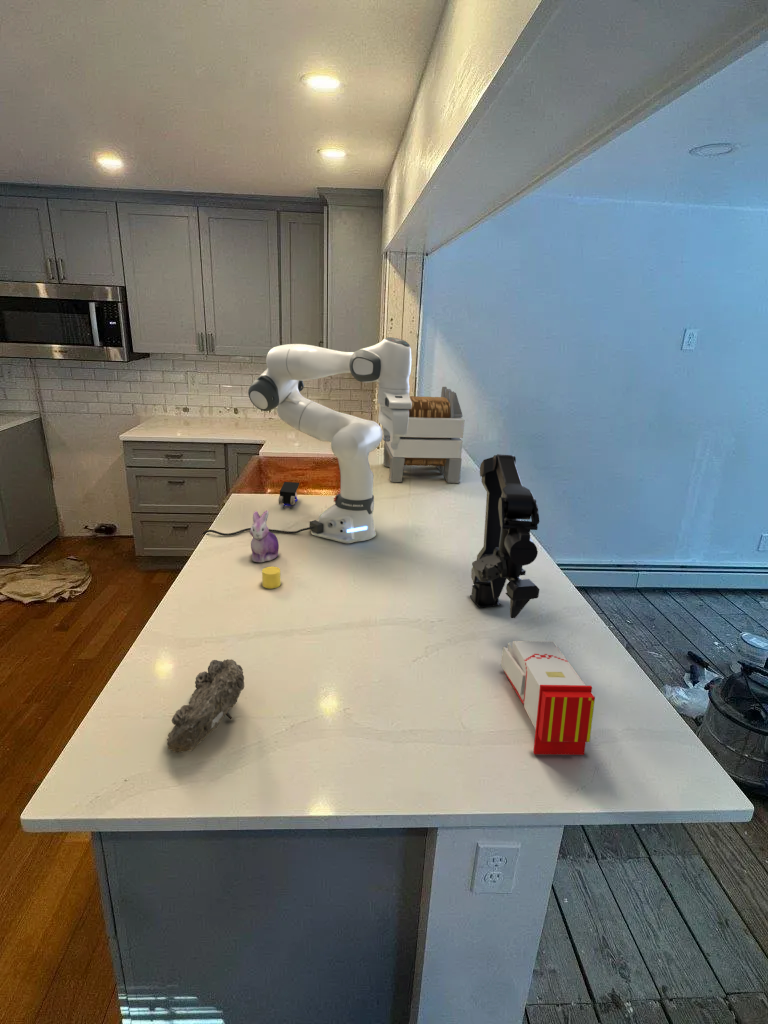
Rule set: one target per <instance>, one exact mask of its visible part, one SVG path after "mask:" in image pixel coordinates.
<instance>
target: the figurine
mask: <svg viewBox="0 0 768 1024" xmlns="http://www.w3.org/2000/svg"><path fill="white" fill-rule="evenodd" d="M268 519H269V510H267V509H266V510H264V511H263V512H262V514H261V515H259V512H258V511H257V510H255V511H254V512H253V513H252V522H253V523H252V525H251V527H250V528H251V529H250V530H249V534H250V536H251V538H252V539H251V541H250V549H251V553H252V554H251V561H252V562H256V563H264V562H270V561H272V560H275V559H276V558H277V557H278V555H279V548H280V546H279V540H278V538H277V536H276V534H275V533H274V532H270V531H269V529H270V528H269V527H268V525H267V522H268Z"/></svg>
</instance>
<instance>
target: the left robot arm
mask: <svg viewBox="0 0 768 1024" xmlns="http://www.w3.org/2000/svg"><path fill="white" fill-rule="evenodd" d="M265 364H266V369H264V370H263V372H262V373H261V374H260V375H259V376H258V377H257V378H256V379H254V380H253V381H252V383H251V384H250V386H249V388H248V390H247V391H248V392H247V393H248V394H247V395H248V398H249V400H250V403H251V404H253V406H254V407H255V408H256V409H258V410H260V411H262V412H269V411H272V410H274V409H276V412H277V416H278V418H279V419H280V420H281V421H282V422H284V423H285V424H287V425H288V426H290V427H291V428H293V429H295V430H296V431H298V432H301V433H303V434H305V435H307V436H310V437H312V438H314V439H316V440H318V441H320V442H325V443H330V449H331V451H332V454H333V455H334V456H335V457H336V459H337V463H338V468H339V473H340V475H339V476H340V488H339V489H340V490H339V491H338V492H337V494H336V495H335V496H334V497H333V502H334V504H333V505H331V506H329V507H328V508H326V509H325V510H323V512H321V514H320V515H319V517H318V520H316V519H314V520H310V521H309V527H305V528H301V529H298V530H294V531H292V530H291V531H288V530H279V529H271V528H268V529H269V532H272V533H280V534H287V535H288V534H289V535H294V534H299V533H301V532H304V531H310V533H311V536H315V537H319V538H323V539H326V540H330V541H336V542H339V543H343V544H352V543H357V542H365V541H368V540H372V539H373V538H375V537H376V535H377V532H376V528H375V523H374V513H373V512H374V509H375V496H374V473H373V471H372V469H371V466H370V461H369V455H370V453H371V452H373V451H375V450H376V449H377V448H378V447H379V445H380V444H381V442H382V440H383V441H384V442H389V441H390V433H391V434H392V442H391V448H392V449H393V450H397V449H398V443H399V440H400V437H404V436H405V435H406V432H407V427H408V420H409V410H408V409H411V407H412V402H411V400H410V397H409V396H410V389H411V387H410V376H411V374H412V348H411V345H410V343H409V342H407V341H406V340H404V339H401V338H396V337H392V336H391V337H389V336H388V337H385V338H383V339H382V340H381V341H380V342H378V343H376V344H373V345H370V346H367V347H363V348H360V349H356V350H355V351H342V350H341V351H340V350H336V349H331V348H325V347H321V346H316V345H313V344H305V343H288V344H280V345H277V346H274V347H272V348H270V349H269V351H268V352H267V355H266V357H265ZM340 374H351V376H352V377H353V379H355V380H356V381H357V382H359V383H360V382H361V383H365V384H366V383H367V384H368V383H378V392H377V404H379V407H378V417H377V418H378V423H377V422H376V421H374V420H370V419H365V418H361V417H358V416H355V415H351V414H349V413H345V412H340V411H337V410H334V409H332V408H330V407H327V406H325V405H324V404H321V403H318V402H316V401H314V400H312V399H309V398H307V397H305V396H303V395H302V393H301V391H303V389H304V388H305V383H304V381H305V382H307V381H313V380H318V379H323V378H327V377H331V376H335V375H340ZM250 529H251V527H247V528H244V529H240V530H238V531H234V532H226V533H225V532H221V531H218V530H213V529H207V530H205V531H203V532H202V533H201V535H206V534H207V533H213V534H217V535H220V536H223V537H225V536H227V537H229V536H235V535H238V534H241V533H244V532H247V531H250Z"/></svg>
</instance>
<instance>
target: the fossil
mask: <svg viewBox="0 0 768 1024" xmlns="http://www.w3.org/2000/svg"><path fill="white" fill-rule="evenodd" d="M243 670H244V669H243V667H242V665H240V664H237V662H236V661H235V660H234V659H232V658H231V659H227V658H226V659H224V660H223V661H222V660H217V659H212V660H211V661H210V663H209V665H208V666H207V671H201V672H199V673H198V674H197V675H196V676H195V680H194V684H195V685H194V687H195V689H194V690H193V693H192V694H191V697H190V698H189V700H188V704H184V705H182V706H181V707H180V709H177V710H176V711H175V713H174V715H173V716H172V718H171V723H172V724H173V727H172V730H171V731H170V732H168V734H167V738H166V741H167V742H166V745H167V749H168V750H169V751H173V752H174V753H176V754H178V753H182V752H188V751H189V752H192V751H193V750H195V748H196V747H197V746H199V744H200V743H201V742H203V741H204V740H205V739H206V738H207V737H208V736H209V735H210V734H211V733H212V732H214V730H215V729H217V727H218V726H219V724H220V722H221V721H222V720H223V719H224V718H225V716H226V717H227V719H229V720H233V717H232V715H230V714H229V710H230V709H231V708H234V706H235V704H236V703H237V702H238V699H239V697H240V695H241V693H242V691H243V690H245V689H244V688H245V675H244V671H243Z"/></svg>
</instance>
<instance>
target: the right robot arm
mask: <svg viewBox="0 0 768 1024" xmlns="http://www.w3.org/2000/svg"><path fill="white" fill-rule="evenodd" d="M479 476H480V477H481V484H482V486H483V488H484V490H485V492H486V500H485V501H486V503H485V516H484V517H485V518H484V519H485V520H484V531H483V546H482V548H481V549H480V551H479V552H478V554H476V560H474V561H472V563H471V564H472V568H471V570H470V571H471V572H470V578H471V582H472V586H471V587H472V588H471V594H470V596H469V597H470V599H471V600H472V601H473V603H474V604H475V605H476V606H477V607H478V608H480V609H481V608H491V607H500V606H501V605H502V604H501V602H500V601H499V598H500V596H501V594H502V592H503V589H504V586H505V585H506V586H505V590H506V592H505V595H506V596H507V597H508V599H509V616H510V619H516V618H517V617H518V615H519V614H520V613H521V611H522V610H523V609H524V608H525V606H527V604H528V603H529V602H530V601H531V600H534V599H538V598H539V596H540V588H539V587H538V585H536V584H535V583H534V581H532V580H531V579H530V578H521V577H520V576H526V572H527V571H526V570H525V569H524V568H523V567H524V566H528V565H531V564H532V563H533V562H534V561H536V559H537V556H538V552H539V551H538V547H537V545H536V543H535V542H534V541H533V538H532V536H531V531H538V528H539V527H538V526H539V524H540V513H539V505H538V503H537V499H536V498H535V497H534V495H533V492H532V491H531V490H530V489H529V488H527V487H526V486H525V485H523V484H522V483H523V482H522V481H521V477H520V474H519V471H518V469H517V458H516V456H515V455H513V454H504V453H502V454H501V453H500V454H499V453H497V454H494V455H493V456H491V457H488V458H484V459H483V460H482V461H481V463H480V466H479ZM507 581H508V582H507ZM506 582H507V583H506Z"/></svg>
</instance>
